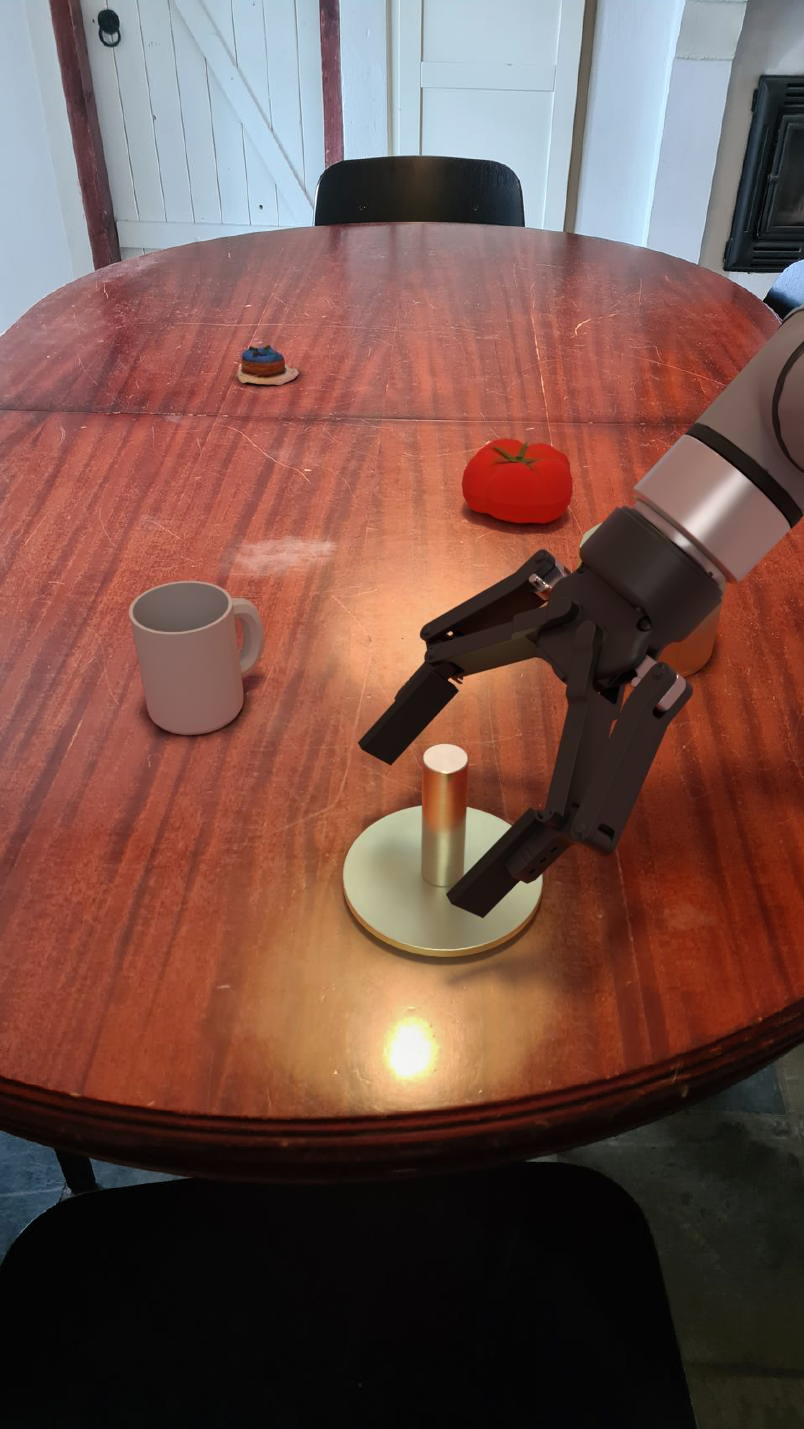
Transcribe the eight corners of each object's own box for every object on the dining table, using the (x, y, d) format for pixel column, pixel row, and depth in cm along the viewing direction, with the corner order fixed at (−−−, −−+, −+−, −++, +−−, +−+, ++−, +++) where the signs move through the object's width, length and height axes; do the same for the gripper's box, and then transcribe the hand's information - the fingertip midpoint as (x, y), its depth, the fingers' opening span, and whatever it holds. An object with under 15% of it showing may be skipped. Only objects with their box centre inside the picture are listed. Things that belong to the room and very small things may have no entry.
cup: (130, 704, 78) (110, 603, 73) (242, 656, 84) (231, 559, 78) (178, 750, 74) (160, 646, 69) (293, 697, 79) (285, 596, 74)
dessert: (224, 377, 133) (235, 332, 133) (244, 392, 139) (255, 349, 139) (280, 389, 131) (292, 343, 131) (298, 404, 138) (309, 360, 137)
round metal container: (705, 693, 79) (725, 597, 74) (558, 667, 82) (568, 573, 77) (716, 617, 88) (735, 527, 83) (583, 597, 91) (593, 508, 86)
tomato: (477, 485, 109) (480, 425, 105) (580, 500, 106) (586, 439, 102) (449, 525, 102) (450, 462, 98) (558, 543, 99) (564, 479, 95)
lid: (517, 986, 57) (529, 856, 51) (313, 934, 60) (301, 806, 54) (559, 839, 67) (574, 714, 60) (380, 801, 70) (377, 678, 63)
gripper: (868, 704, 48) (555, 1004, 53) (595, 488, 67) (382, 725, 71) (801, 632, 43) (465, 969, 48) (527, 421, 62) (304, 680, 67)
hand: (415, 824), depth 60 cm, fingers open, 13 cm apart
